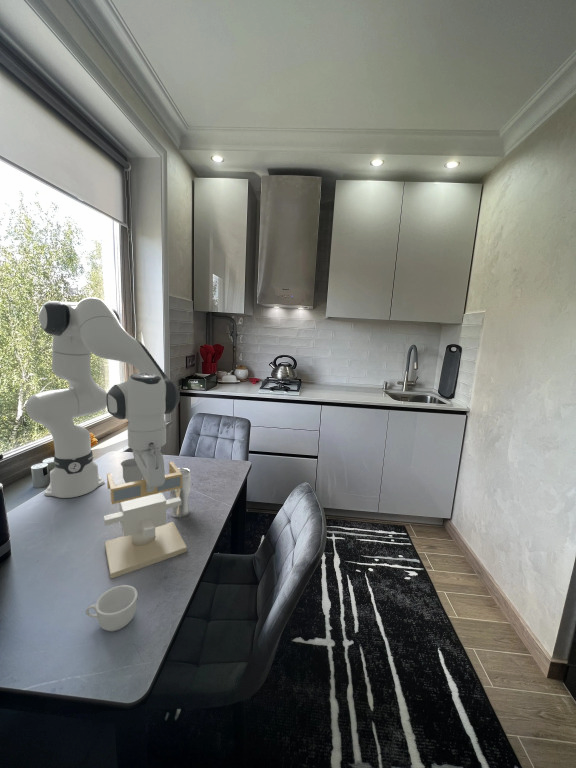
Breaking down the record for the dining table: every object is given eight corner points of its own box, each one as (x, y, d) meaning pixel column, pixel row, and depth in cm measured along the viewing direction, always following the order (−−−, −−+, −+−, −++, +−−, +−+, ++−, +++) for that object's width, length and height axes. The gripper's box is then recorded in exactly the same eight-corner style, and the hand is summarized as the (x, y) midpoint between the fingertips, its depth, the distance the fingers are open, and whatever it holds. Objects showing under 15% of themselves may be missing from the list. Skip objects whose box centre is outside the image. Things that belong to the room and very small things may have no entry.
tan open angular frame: (107, 487, 84) (106, 473, 83) (172, 473, 94) (172, 461, 93) (111, 504, 76) (111, 489, 76) (182, 487, 86) (182, 473, 85)
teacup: (141, 603, 72) (141, 582, 71) (132, 634, 65) (131, 612, 64) (94, 608, 70) (92, 587, 69) (78, 642, 63) (77, 619, 62)
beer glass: (184, 520, 104) (184, 478, 101) (165, 516, 105) (164, 475, 103) (194, 509, 110) (194, 469, 108) (176, 505, 112) (176, 466, 109)
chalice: (122, 519, 102) (120, 468, 99) (122, 509, 108) (120, 459, 105) (147, 515, 105) (145, 464, 102) (145, 504, 111) (144, 456, 108)
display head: (103, 546, 90) (101, 501, 87) (174, 525, 101) (173, 485, 98) (109, 579, 78) (107, 528, 76) (187, 551, 90) (187, 506, 87)
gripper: (171, 449, 73) (172, 503, 75) (151, 425, 89) (152, 470, 91) (142, 453, 69) (143, 511, 71) (127, 428, 86) (128, 475, 88)
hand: (148, 488), depth 82 cm, fingers closed on tan open angular frame, 2 cm apart
